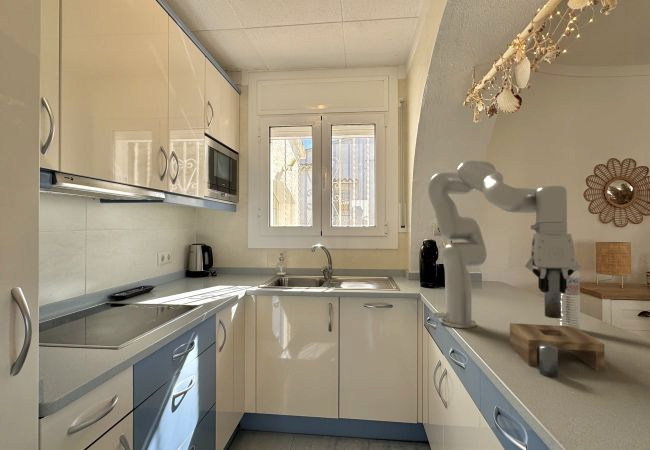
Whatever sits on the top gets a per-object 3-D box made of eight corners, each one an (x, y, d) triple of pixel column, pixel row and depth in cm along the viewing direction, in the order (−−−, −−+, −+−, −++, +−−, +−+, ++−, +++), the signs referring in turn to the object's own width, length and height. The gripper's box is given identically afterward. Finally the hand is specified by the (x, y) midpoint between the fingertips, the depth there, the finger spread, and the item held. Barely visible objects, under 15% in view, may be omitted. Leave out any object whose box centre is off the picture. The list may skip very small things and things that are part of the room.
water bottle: (558, 330, 123) (558, 261, 123) (556, 325, 129) (555, 259, 129) (582, 333, 120) (581, 262, 120) (578, 328, 126) (577, 260, 126)
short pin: (543, 376, 86) (542, 349, 86) (537, 370, 90) (536, 343, 90) (561, 378, 85) (560, 350, 85) (553, 371, 89) (553, 344, 89)
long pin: (548, 318, 97) (547, 261, 97) (542, 314, 101) (541, 260, 101) (563, 318, 96) (562, 262, 96) (557, 315, 100) (556, 260, 100)
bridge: (528, 365, 93) (528, 339, 93) (510, 345, 108) (509, 323, 108) (604, 370, 89) (604, 344, 89) (574, 349, 104) (573, 326, 104)
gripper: (524, 229, 97) (525, 293, 97) (591, 228, 93) (592, 295, 93) (515, 229, 104) (516, 288, 104) (577, 228, 101) (578, 290, 100)
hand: (552, 291), depth 99 cm, fingers closed on long pin, 4 cm apart
